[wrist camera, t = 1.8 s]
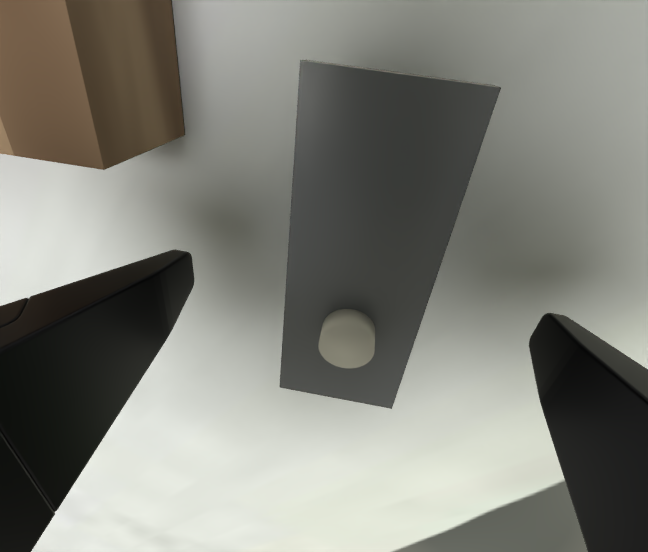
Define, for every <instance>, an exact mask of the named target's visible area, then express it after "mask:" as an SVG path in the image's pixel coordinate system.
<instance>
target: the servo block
mask: <svg viewBox="0 0 648 552" xmlns="http://www.w3.org/2000/svg"><path fill="white" fill-rule="evenodd" d="M500 89H501V88H500V87H497V86H494V85H488V84H481V83H473V82H466V81H458V80H451V79H444V78H436V77H429V76H421V75H414V74H407V73H399V72H392V71H384V70H377V69H370V68H362V67H355V66H348V65H340V64H333V63H325V62H318V61H311V60H300V73H299V89H298V105H297V121H296V137H295V153H294V168H293V184H292V200H291V216H290V232H289V247H288V263H287V279H286V295H285V311H284V327H283V342H282V358H281V374H280V387H281V388H286V389H291V390H296V391H302V392H307V393H312V394H317V395H323V396H328V397H333V398H339V399H344V400H349V401H354V402H360V403H365V404H370V405H375V406H381V407H386V408H391V409H392V406H393V403H394V400H395V397H396V394H397V391H398V388H399V385H400V383H401V380H402V377H403V374H404V371H405V368H406V365H407V362H408V359H409V356H410V353H411V350H412V347H413V344H414V341H415V338H416V336H417V333H418V330H419V327H420V324H421V321H422V318H423V315H424V312H425V309H426V306H427V303H428V300H429V297H430V294H431V292H432V289H433V286H434V283H435V280H436V277H437V274H438V271H439V268H440V265H441V262H442V259H443V256H444V253H445V250H446V247H447V245H448V242H449V239H450V236H451V233H452V230H453V227H454V224H455V221H456V218H457V215H458V212H459V209H460V206H461V203H462V201H463V198H464V195H465V192H466V189H467V186H468V183H469V180H470V177H471V174H472V171H473V168H474V165H475V162H476V159H477V156H478V154H479V151H480V148H481V145H482V142H483V139H484V136H485V133H486V130H487V127H488V124H489V121H490V118H491V115H492V112H493V110H494V107H495V104H496V101H497V98H498V95H499V92H500Z"/></svg>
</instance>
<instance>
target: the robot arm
mask: <svg viewBox="0 0 648 552" xmlns="http://www.w3.org/2000/svg"><path fill="white" fill-rule="evenodd" d="M193 285H194V272H193V263H192V256H191V254H190V253H189V252H186V251H180V250H171V251H168V252H165V253H162V254H159V255H156V256H153V257H150V258H147V259H143V260H140V261H137V262H134V263H131V264H128V265H125V266H122V267H119V268H116V269H113V270H110V271H107V272H104V273H101V274H98V275H95V276H92V277H88V278H85V279H82V280H79V281H76V282H73V283H70V284H67V285H64V286H61V287H58V288H55V289H52V290H49V291H46V292H43V293H40V294H37V295H34V296H31V297H30V298H29V299H28V298H24V299H21V300H18V301H15V302H12V303H9V304H6V305H3V306H0V552H31V551H32V549H33V547H34V546H35V544H36V543H37V541H38V540H39V538H40V537H41V535H42V533H43V532H44V530H45V529H46V527H47V526H48V524H49V523H50V521H51V519H52V518H53V516H54V515H55V511H57V509H58V508H59V506H60V505H61V503H62V502H63V500H64V499H65V497H66V495H67V494H68V492H69V491H70V489H71V488H72V486H73V485H74V483H75V481H76V480H77V478H78V477H79V475H80V474H81V472H82V470H83V469H84V467H85V466H86V464H87V463H88V461H89V460H90V458H91V456H92V455H93V453H94V452H95V450H96V449H97V447H98V446H99V444H100V442H101V441H102V439H103V438H104V436H105V435H106V433H107V431H108V430H109V428H110V427H111V425H112V424H113V422H114V421H115V419H116V417H117V416H118V414H119V413H120V411H121V410H122V408H123V407H124V405H125V403H126V402H127V400H128V399H129V397H130V396H131V394H132V392H133V391H134V389H135V388H136V386H137V385H138V383H139V382H140V380H141V378H142V377H143V375H144V374H145V372H146V371H147V369H148V368H149V366H150V364H151V363H152V361H153V360H154V358H155V357H156V355H157V353H158V352H159V350H160V349H161V347H162V346H163V344H164V343H165V341H166V339H167V338H168V336H169V334H170V333H171V331H172V329H173V327H174V325H175V323H176V321H177V319H178V317H179V315H180V313H181V311H182V308H183V306H184V304H185V302H186V300H187V298H188V296H189V294H190V292H191V290H192V288H193ZM529 348H530V353H531V359H532V364H533V369H534V374H535V379H536V384H537V389H538V394H539V398H540V402H541V406H542V409H543V413H544V416H545V419H546V422H547V425H548V428H549V431H550V435H551V438H552V441H553V444H554V447H555V450H556V453H557V457H558V460H559V463H560V466H561V469H562V472H563V475H564V478H565V482H566V485H567V487H568V491H569V494H570V497H571V500H572V503H573V506H574V510H575V513H576V516H577V519H578V522H579V525H580V529H581V532H582V534H583V538H584V541H585V544H586V547H587V550H588V552H648V369H646V368H645V367H643V366H642V365H640V364H638V363H637V362H635V361H634V360H632V359H631V358H629V357H628V356H626V355H625V354H623V353H622V352H620V351H619V350H617V349H616V348H614V347H612V346H611V345H609V344H608V343H606V342H605V341H603V340H602V339H600V338H599V337H597V336H596V335H594V334H593V333H591V332H590V331H588V330H587V329H585V328H583V327H582V326H580V325H579V324H577V323H576V322H574V321H573V320H571V319H570V318H568V317H566V316H564V315H559V314H553V313H547V314H545V315H544V316H543V317H542V318H541V320H540V322H539V323H538V325H537V327H536V329H535V330H534V332H533V334H532V335H531V338H530V341H529Z"/></svg>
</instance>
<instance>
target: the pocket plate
mask: <svg viewBox="0 0 648 552" xmlns="http://www.w3.org/2000/svg"><path fill="white" fill-rule="evenodd" d="M184 135H185V131H184V121H183V111H182V102H181V92H180V82H179V72H178V62H177V52H176V42H175V32H174V22H173V13H172V3H171V0H0V153H1V154H7V155H13V156H20V157H26V158H33V159H39V160H45V161H52V162H58V163H64V164H71V165H77V166H84V167H90V168H96V169H103V170H105V169H107V168H109V167H112V166H114V165H116V164H119V163H121V162H123V161H126V160H128V159H130V158H133V157H135V156H137V155H140V154H142V153H144V152H147V151H149V150H151V149H154V148H156V147H158V146H161V145H163V144H165V143H168V142H170V141H172V140H174V139H177V138H179V137H181V136H184Z"/></svg>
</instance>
